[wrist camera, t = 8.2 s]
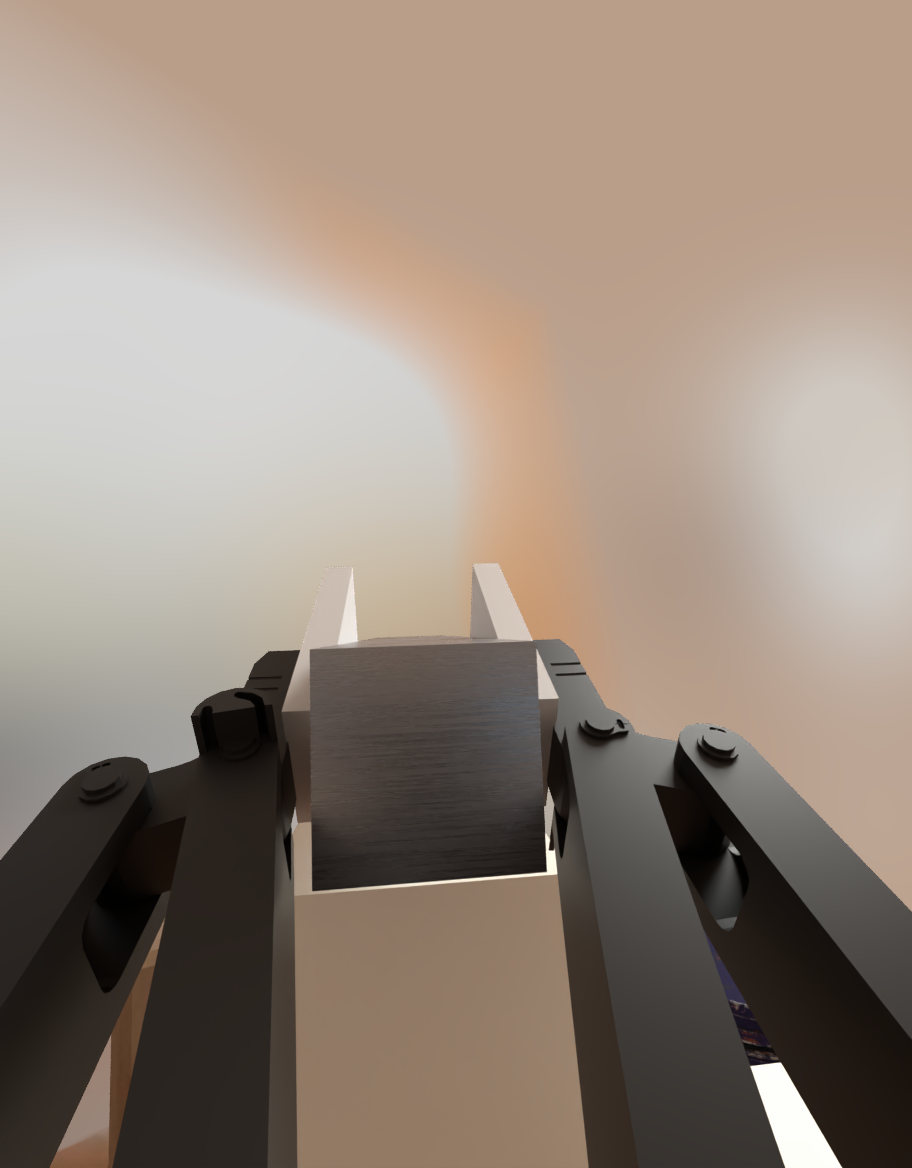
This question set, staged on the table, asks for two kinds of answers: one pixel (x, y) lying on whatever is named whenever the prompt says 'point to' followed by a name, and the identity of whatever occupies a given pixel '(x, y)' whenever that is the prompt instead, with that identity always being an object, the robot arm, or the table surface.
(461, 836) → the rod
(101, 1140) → the table surface
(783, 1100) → the step
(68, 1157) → the table surface
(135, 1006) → the block
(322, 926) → the stand
